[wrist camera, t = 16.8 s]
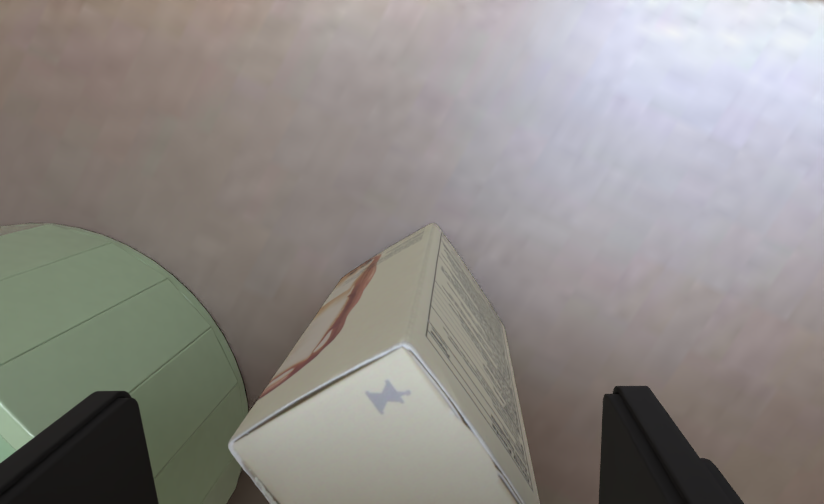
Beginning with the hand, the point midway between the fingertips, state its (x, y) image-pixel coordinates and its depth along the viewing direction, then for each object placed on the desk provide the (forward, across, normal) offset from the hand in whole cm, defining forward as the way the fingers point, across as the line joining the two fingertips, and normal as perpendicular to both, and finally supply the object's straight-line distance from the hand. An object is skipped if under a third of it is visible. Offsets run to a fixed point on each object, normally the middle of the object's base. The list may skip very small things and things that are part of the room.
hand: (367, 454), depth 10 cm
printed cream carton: (+10, -1, 0) cm, 10 cm away
